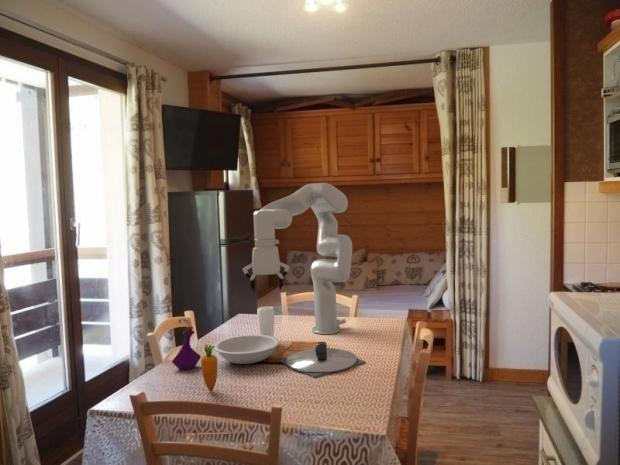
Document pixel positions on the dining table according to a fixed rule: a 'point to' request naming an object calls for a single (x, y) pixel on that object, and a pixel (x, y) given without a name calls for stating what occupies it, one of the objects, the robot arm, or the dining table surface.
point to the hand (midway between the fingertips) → (267, 289)
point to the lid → (321, 359)
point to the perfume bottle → (186, 351)
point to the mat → (323, 373)
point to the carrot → (209, 367)
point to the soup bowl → (246, 348)
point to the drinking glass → (266, 320)
